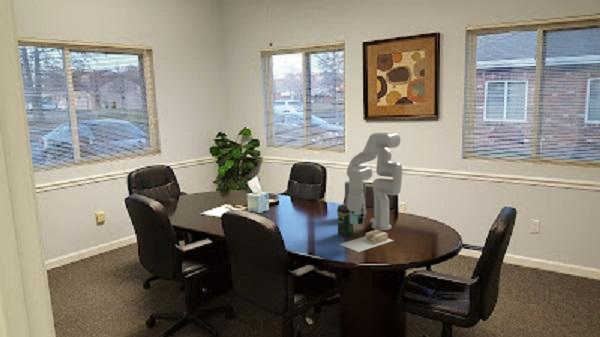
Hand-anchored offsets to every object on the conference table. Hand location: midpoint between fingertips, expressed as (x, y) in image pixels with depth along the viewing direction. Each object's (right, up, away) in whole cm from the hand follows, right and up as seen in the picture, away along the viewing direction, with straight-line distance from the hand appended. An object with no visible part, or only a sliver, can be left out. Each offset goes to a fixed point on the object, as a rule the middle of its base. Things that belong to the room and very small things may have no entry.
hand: (356, 222), depth 254 cm
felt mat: (+7, -13, +7) cm, 16 cm away
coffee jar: (-4, -11, +21) cm, 24 cm away
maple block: (+13, -11, +11) cm, 20 cm away
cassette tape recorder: (+6, -4, +55) cm, 56 cm away
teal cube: (0, -1, 0) cm, 1 cm away
